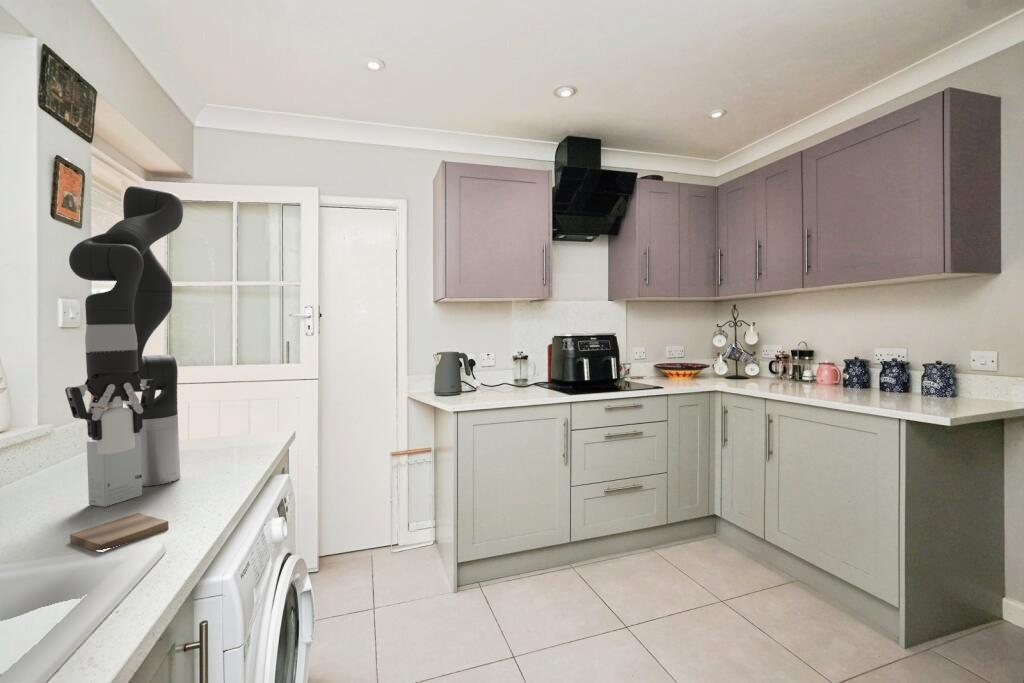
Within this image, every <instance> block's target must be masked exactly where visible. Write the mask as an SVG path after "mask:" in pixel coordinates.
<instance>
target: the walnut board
mask: <svg viewBox="0 0 1024 683" xmlns="http://www.w3.org/2000/svg"><path fill="white" fill-rule="evenodd" d="M166 530H169V520H165V519H163V518H159V517H155V516H150V515H148V514H145V513H139V512H136V513H133V514H129V515H126V516H122V517H119V518H117V519H114V520H110V521H108V522H104V523H102V524H98V525H95V526H92V527H89V528H86V529H82V530H79V531H76V532H72V533H70V534H69V541H70V543H71V542H72V543H71V544H74V543H75V545H77V544H78V546H80V545H81V546H80V547H82V546H83V548H85V547H86V549H88V548H89V549H88V550H90V549H91V551H93V550H103V549H107V548H113V547H116V546H119V545H122V544H125V545H127V544H126V543H128V544H129V542H130V543H133V542H135V541H138V540H141V539H144V538H146V537H149V536H152V535H154V534H158V533H161V532H163V531H166ZM122 546H123V545H122ZM119 547H120V546H119Z"/></svg>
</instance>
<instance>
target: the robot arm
mask: <svg viewBox="0 0 1024 683" xmlns="http://www.w3.org/2000/svg"><path fill="white" fill-rule="evenodd" d="M123 194H124V195H123V201H122V204H123V205H122V206H123V207H122V208H123V212H122V213H123V219H121V220H120V221H118V222H116V223H114V224H113V225H112V226H111V227H110V228H109V229H108V230H107V231H106V232H104V233H100V234H98V235H94V236H91V237H89V238H86V239H84V240H82V241H80V242H79V243H77V244H76V245H75V246H74V247H73V248H72V250H71V252H70V254H69V256H68V257H69V258H68V261H69V262H68V263H69V267H70V269H71V270H72V272H73V273H74V275H76V276H77V277H79V278H80V279H83V280H87V281H93V282H94V281H95V282H102V281H103V282H115V284H114V285H113V287H112V288H111V289H110V290H107V291H104V292H97V293H93V294H89V295H88V296H87V297H86V298H85V304H84V306H85V325H86V326H85V327H86V328H85V338H84V339H85V340H84V343H85V346H84V347H85V362H86V364H85V366H86V367H85V368H86V375H87V377H86V381H85V383H84V384H81V385H77V386H67V387H66V388H65V390H64V391H65V394H66V397H67V399H66V400H67V402H68V405H69V408H70V411H71V416H72V417H73V418H74V419H80V420H85V421H86V422H87V425H86V426H87V427H86V428H87V436H88V438H90V439H91V441H92V440H96V441H97V440H101V439H102V423H101V420H99V418H100V416H101V414H102V412H103V411H104V410H106V409H107V407H106V406H107V404H108V402H113V400H114V397H118V396H120V397H121V401H123V405H124V404H125V405H126V408H129V409H131V410H132V411H133V420H134V435H140V440H141V472H142V487H153V485H155V486H161V485H164V484H169V483H172V481H173V482H175V481H177V480H179V479H180V478H181V462H180V461H181V460H180V455H181V454H180V436H179V417H178V377H179V376H178V372H179V371H178V363H177V360H176V359H175V357H174V356H173V355H172V354H157V355H143V354H144V350H145V347H146V344H147V342H148V341H149V339H150V338H151V336H152V335H153V333H154V331H156V330H157V328H159V326H160V325H161V323H162V322H164V320H165V319H166V318H167V316H168V315H169V313H170V311H172V310H171V309H172V305H173V282H172V280H171V277H170V276H169V274H168V272H167V271H166V269H165V268H164V266H163V265H162V263H161V262H160V261H159V260H158V258H157V257H156V255H155V254H154V252H153V250H152V248H151V246H152V245H153V244H154V243H155V242H157V241H159V240H160V239H162V238H164V237H165V236H167V235H169V234H170V233H173V232H174V231H176V230H177V229H178V228H179V227H180V226H181V224H182V222H183V218H184V216H183V215H184V205H183V202H182V200H181V197H179V196H178V195H177V194H176V193H173V192H170V191H165V190H160V189H155V188H148V187H143V186H137V185H136V186H135V185H134V186H133V185H130V186H127V188H126V189H125V192H124V193H123ZM86 391H88V393H89V394H91V395H92V397H91V400H90V401H89V404H88V406H89V407H88V410H87V408H86V405H85V401H84V397H85V396H86ZM156 391H160V393H159V394H158V395H157V396H156V393H157V392H156ZM140 392H141V395H140V396H141V398H140V400H139V397H138V395H137V394H136V393H140ZM155 396H156V397H155ZM160 484H161V485H160Z"/></svg>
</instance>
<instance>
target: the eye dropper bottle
mask: <svg viewBox="0 0 1024 683" xmlns="http://www.w3.org/2000/svg"><path fill="white" fill-rule="evenodd" d="M123 406H124V403H123V401H121V397H120V396H118V397H114V400H113V402H108V404H107V406H106V408H105V409H103V412H102V414H101V416H100V418H99V420H101V423H102V439H101V440H97V448H98V454H102V455H109V454H115V453H120V452H124V451H127V450H130V449H133V448H134V447H135V439H134V420H133V411H132V410H131V409H129V408H128V407H123Z"/></svg>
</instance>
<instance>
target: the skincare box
mask: <svg viewBox="0 0 1024 683" xmlns="http://www.w3.org/2000/svg"><path fill="white" fill-rule="evenodd" d="M134 439H135V447H134V448H133V449H130V450H127V451H124V452H120V453H115V454H109V455H102V454H98V448H97V441H96V440H92V439H91V440H89V441H86V453H87V454H86V455H87V457H86V458H87V460H86V462H87V463H86V464H87V483H88V484H87V487H88V489H87V490H88V505H90V506H97V507H101V508H107V506H108V507H110V506H112V504H113V505H116V504H119V503H122V502H124V501H125V502H126V501H127V500H130V499H135V498H137V497H141V496H143V486H142V472H141V440H140V435H134ZM115 503H116V504H115ZM109 505H110V506H109Z"/></svg>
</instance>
